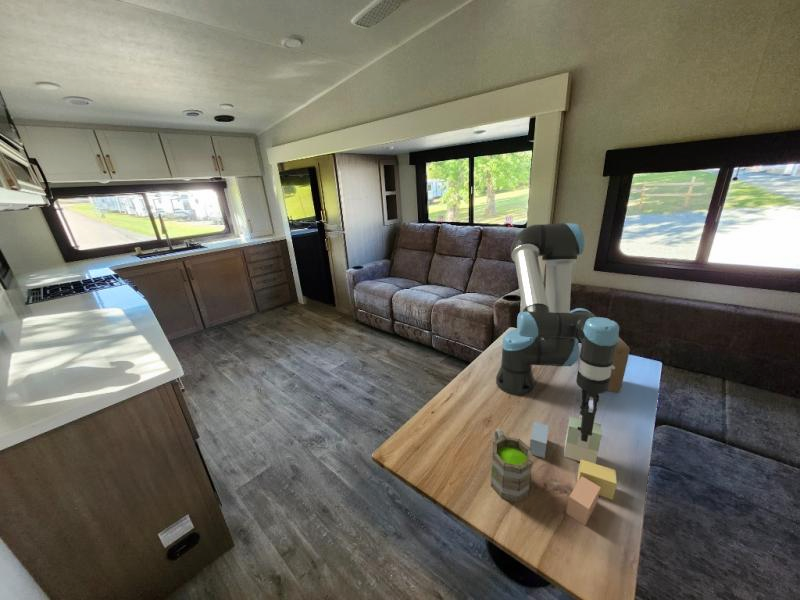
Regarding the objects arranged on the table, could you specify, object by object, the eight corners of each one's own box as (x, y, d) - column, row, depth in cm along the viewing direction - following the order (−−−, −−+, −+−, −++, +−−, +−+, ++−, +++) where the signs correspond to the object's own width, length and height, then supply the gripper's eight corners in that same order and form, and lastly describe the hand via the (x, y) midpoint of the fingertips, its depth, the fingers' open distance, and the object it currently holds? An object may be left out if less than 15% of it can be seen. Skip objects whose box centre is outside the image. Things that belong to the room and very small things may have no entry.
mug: (537, 499, 81) (542, 466, 77) (498, 504, 80) (500, 471, 76) (512, 451, 96) (515, 421, 91) (478, 455, 95) (479, 425, 91)
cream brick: (563, 456, 93) (566, 441, 91) (564, 446, 96) (566, 431, 94) (594, 466, 89) (597, 451, 87) (594, 455, 93) (597, 440, 90)
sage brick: (566, 442, 91) (569, 426, 88) (567, 432, 94) (569, 416, 92) (598, 451, 87) (601, 434, 85) (597, 440, 90) (600, 424, 88)
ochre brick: (577, 487, 83) (580, 471, 81) (577, 474, 87) (580, 459, 85) (612, 500, 80) (616, 483, 78) (611, 486, 83) (615, 470, 81)
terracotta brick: (585, 525, 74) (588, 509, 72) (566, 512, 77) (569, 496, 75) (596, 503, 79) (600, 487, 77) (578, 492, 82) (581, 476, 80)
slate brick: (544, 458, 93) (546, 443, 90) (528, 453, 95) (530, 438, 92) (546, 439, 99) (548, 425, 97) (532, 435, 101) (533, 421, 99)
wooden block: (621, 393, 117) (631, 348, 110) (592, 391, 119) (601, 346, 112) (609, 378, 126) (619, 335, 119) (583, 376, 128) (590, 334, 121)
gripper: (613, 395, 74) (598, 468, 81) (607, 360, 88) (595, 425, 96) (577, 388, 77) (566, 458, 85) (577, 355, 91) (568, 418, 99)
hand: (582, 440), depth 90 cm, fingers closed on sage brick, 4 cm apart
